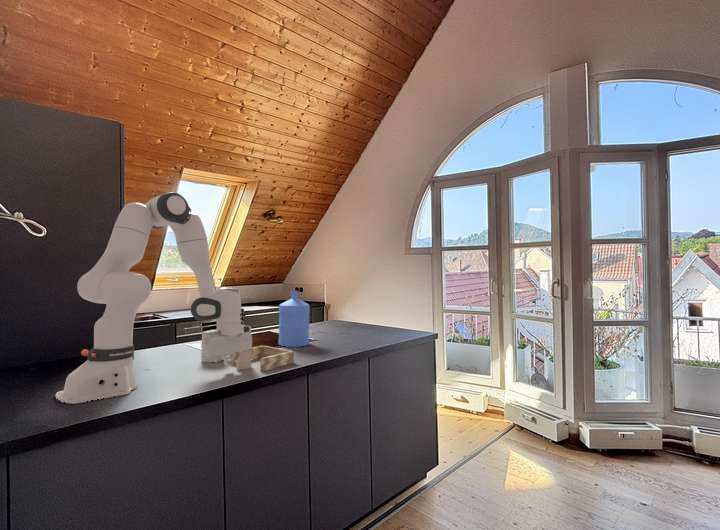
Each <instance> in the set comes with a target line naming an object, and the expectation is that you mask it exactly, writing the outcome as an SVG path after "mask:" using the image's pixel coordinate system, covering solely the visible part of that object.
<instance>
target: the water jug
mask: <svg viewBox="0 0 720 530" xmlns="http://www.w3.org/2000/svg"><path fill="white" fill-rule="evenodd" d="M298 291H299V290H291V297H290V299H287V300H286V301H284V302H282V303H280V304H279V308H278V313H279V315H278V316H279V318H278V320H279V322H278V341H277V342H278V345H279V346H280V345H281V347H283V346H287V347H286V348H300V347H299V346H304V347H306V346H305V345H307V346H309V344H310V311H311V309H310V304H309V303H307V302H306V301H303V300H301V299H300V298H299V297H298V295H299V292H298Z"/></svg>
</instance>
